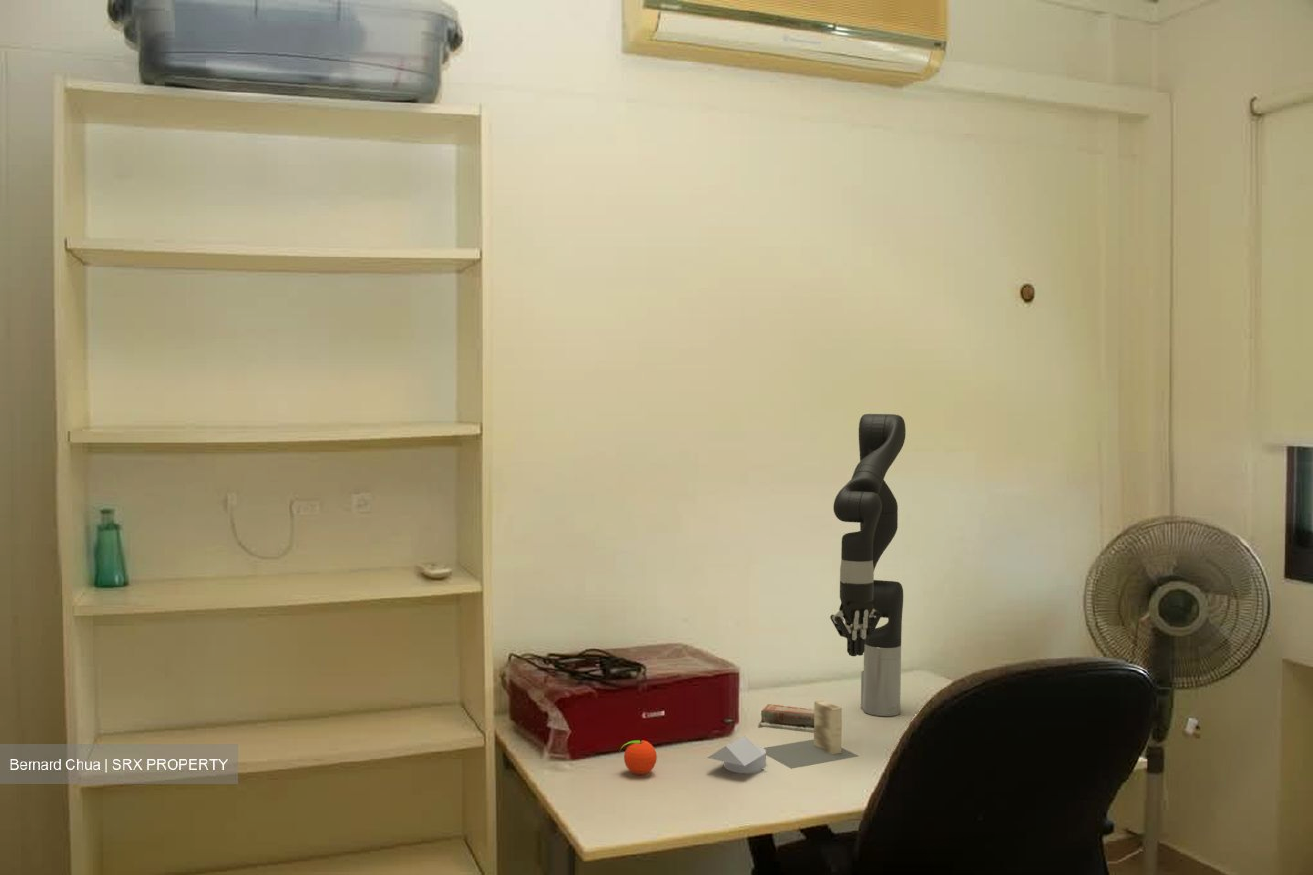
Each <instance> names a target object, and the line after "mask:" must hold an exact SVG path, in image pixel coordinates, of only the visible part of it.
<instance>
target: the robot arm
mask: <svg viewBox="0 0 1313 875" xmlns="http://www.w3.org/2000/svg"><path fill="white" fill-rule="evenodd" d="M859 419H860V420H859V423H858V447H859V450H858V451H859V462H858V464H857V465H856V466H855V469H854V471H853V473H852V475H851V479H850V480H849V481H848V482H847V483H846V484H845V485H844V486H843V487H842V488H841V489H840V490H839V491H838V493H837V494H836V496H835V498H834V500H833V501H834V502H833V513H834V515H835V517H836V519H837V520H839V521H841V522H844V523H855V524H856V523H857V524H858V523H859V524H860V525H859V526H860V528H859V531H853V532H852V531H851V532H847V533H844V534H843V535H842V538H841V549H840V550H841V553H840V554H841V556H840V557H841V560H840V568H839V599H840V606H839V608H838V610H839V611H838V612H836V613H835V614H831V615H830V617H829V618H830V620H831V622H832V624H833V626H834V627H835V630H836V632H837V633H838V635H839V636H840V637H842V638H845V639H846V652H847V654H848V655H849V656H851V657H852V658H853V657H857V656H863V670H862V671H861V673H860V674H861V678H860V682H861V684H860V708H861V709H862V711H863V712H864V713H866V714H868V715H871V716H877V717H893V716H897V715H899V714H900V713H901V694H902V693H901V692H902V691H901V690H902V688H901V685H902V684H901V682H902V681H901V680H902V631H903V629H902V628H903V626H902V625H903V623H902V621H903V607H904V589H903V585H902V584H901V583H900V582H899V581H893V580H880V579H875V578H874V576H875V569H876V567H877V564H878V562H879V560H880V558H881V557H882V555H883V554H884V552H885V551H886V549H887V548H888V546H889V545H890V543H892V541H893V539H894V537H895V535H896V534H897V531H898V526H899V525H898V524H899V523H898V520H899V519H898V516H899V514H898V512H899V511H898V510H899V509H898V507H899V506H898V502H897V499H896V497H895V495H894V493H893V492H892V489H891V488H890V487H889V485H888V484H887V483H886V480H885V476H886V474H887V473H888V470H889V469H890V467H892V466H891V465H892V464H893V463H894V462H895V460H896V459H897V457H898V456H899V454H900V452H901V451H902V448H903V447H904V445H905V440H906V434H907V433H906V424H905V423H906V422H905V420H904V418H903V417H902V416H901V415H899V414H891V413H890V414H889V413H888V414H887V413H865V414H862V416H861V417H860V418H859ZM881 618H883V619H888V620H887V622H886V623H885V624H884V625H882V626H879V627H877V625H878V624H879V621H880V619H881Z"/></svg>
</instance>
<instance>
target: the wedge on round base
mask: <svg viewBox="0 0 1313 875" xmlns="http://www.w3.org/2000/svg"><path fill="white" fill-rule="evenodd" d="M764 748H765V747H762V746H760V745H756V744H754V742H752V741H751V740H750V739H749V738H748V737H747V736H746V735H743V736H742V737H739V738H738V739H735V740H734V741H732V742H731V743H729V744H727V745H725V746H724V747H722V748H719V750H717V751H715V752H714V753H713V754H711V755H709V756H708V757H707V759H712V760H716V761H720V762H723V767H724V769H726V770H727V771H729V772H733V773H739V774H755V773H760V772H762V771H764V770H765V769H764V768H765V767H766V766H767V755H766V750H765V749H764Z"/></svg>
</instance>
